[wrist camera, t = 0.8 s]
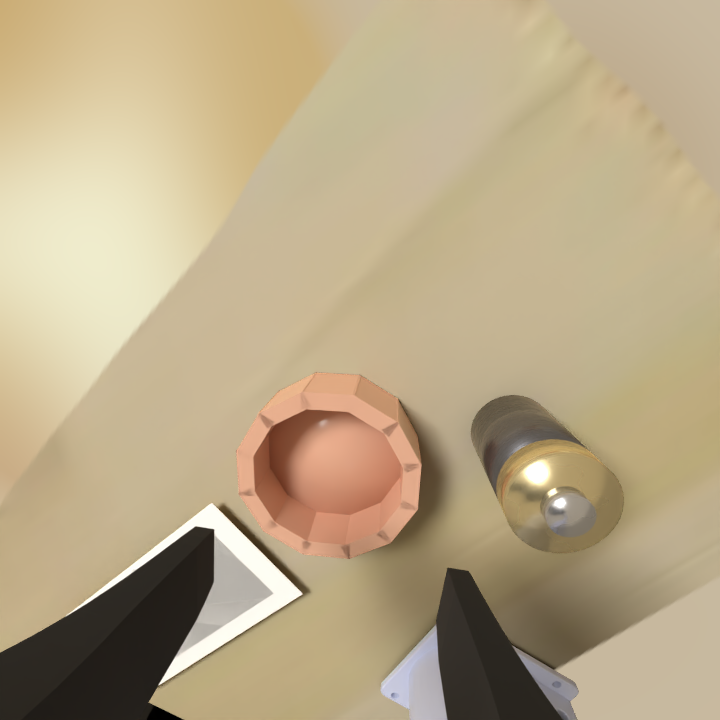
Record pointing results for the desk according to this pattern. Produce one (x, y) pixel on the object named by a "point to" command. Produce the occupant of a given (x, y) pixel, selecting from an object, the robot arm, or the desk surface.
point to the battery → (545, 477)
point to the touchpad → (224, 588)
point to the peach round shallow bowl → (331, 466)
